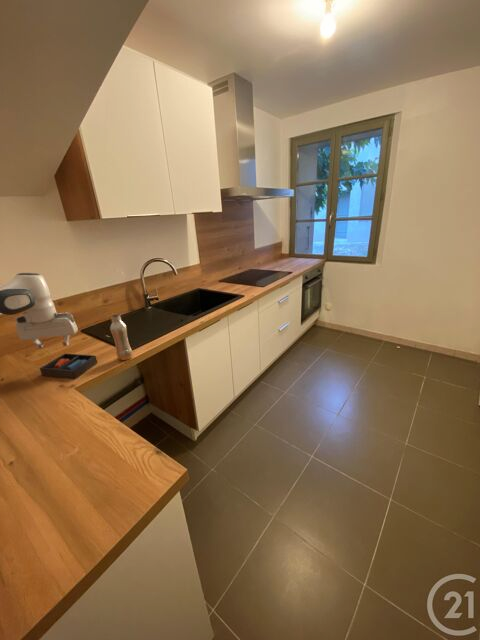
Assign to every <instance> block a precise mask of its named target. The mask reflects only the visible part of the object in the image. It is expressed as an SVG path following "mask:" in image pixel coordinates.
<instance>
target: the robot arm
mask: <svg viewBox="0 0 480 640" xmlns="http://www.w3.org/2000/svg"><path fill="white" fill-rule="evenodd" d="M51 296H52V295H51V291H50V288H49V286H48V283H47V281H46V279H45V277H44V276H43V275H41V273H37V272H36V273H35V272H19V273H16V274H15V276H14V277H13V278H12V279H11V280H10V281H9V280H8V282H6V283H5V284H0V314H1V315H4V316H14V315H17V314H19V315H17V316H16V317H15V318H13V321H14V323H15V329H16V334H17V336H18V337H19V339H20V340H22V341H26V340H27V341H28V340H30V341H31V342H32V343H33V344H34V345H36V346H37V349H43V348H45V344H44V342H41V341H40V339H47V338H59V337H63V339H64V340H63V341H62V342H61V343H62V346H63V347H66V346H69V345H70V342H69V340H70V337H71V336H74V335H75V334H76V333H78V331H79V329H78V326H77V323H76V321H75V318H74V315H73V314H71V313H70V312H67V311H65V312H57V310H56V305H55V303H54V302H53V299H51V298H52V297H51ZM25 311H26V312H25ZM22 312H24V313H22ZM20 313H22V314H20Z"/></svg>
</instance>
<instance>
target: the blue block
mask: <svg viewBox="0 0 480 640" xmlns="http://www.w3.org/2000/svg"><path fill="white" fill-rule="evenodd" d="M86 361H87V360H85V359H84V360H77V361H75V362H74V363H72V364H71V365H69V366H68V367H67V368H68V370H74V369H75V368H77V367H78V366H80V365H81V364H83V363H84V362H86Z"/></svg>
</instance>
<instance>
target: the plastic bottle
mask: <svg viewBox="0 0 480 640" xmlns="http://www.w3.org/2000/svg"><path fill="white" fill-rule="evenodd" d="M110 319H111V324H110V327H109V330H110V332H111V335H112V337H113V340H114V344H115V354H116V357H117V359H119V360H121V361H125V360H129V359H131V358H132V356H133V349H132V347H131V345H130V341H129V338H128V328H127V324H126V323H125V322H124V321H123V320H122V317H121V314H119V313H117V314H112V315H111V316H110Z"/></svg>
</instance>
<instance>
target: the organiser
mask: <svg viewBox="0 0 480 640" xmlns="http://www.w3.org/2000/svg"><path fill="white" fill-rule="evenodd" d="M60 359H69V360H70V361H68V362H67V363H65V364H64V365H62V366H60V367H59V368H57V369H55V365H56V363H57V362H58V361H59V360H60ZM84 359H85V360H87V361H86V362H84V363H83V364H81V365H80V366H78V367H77V368H75V369H74V370H68V368H67V367H68V366H69V365H71V364H72V363H74V362H75V361H77V360H84ZM97 364H98V360H97V357H96V355H91V354H78V353H77V354H76V353H63V354H61V355H60V356H58V357H56V358H55V359H53V360H50V361H49V362H48V363H46V364H44V365H43V366H40V368H39V371H40V373H41V376H43V377H49V376H50V378H58V379H59V378H60V379H69V380H71V379H72V380H76V379H78V378H79V377H80V376H82V375H83V374H85V373H86V372H87V371H88V370H90V369H92V368H93V367H94V366H95V365H97Z"/></svg>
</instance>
